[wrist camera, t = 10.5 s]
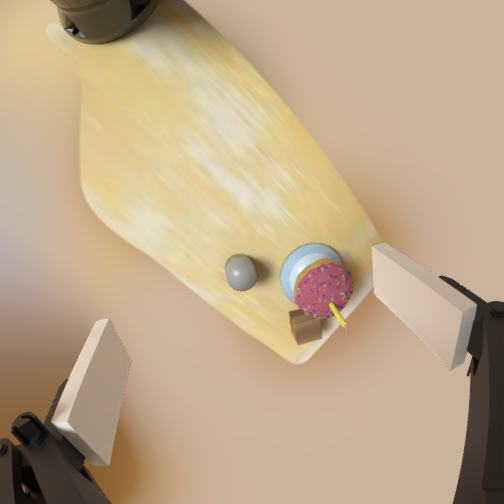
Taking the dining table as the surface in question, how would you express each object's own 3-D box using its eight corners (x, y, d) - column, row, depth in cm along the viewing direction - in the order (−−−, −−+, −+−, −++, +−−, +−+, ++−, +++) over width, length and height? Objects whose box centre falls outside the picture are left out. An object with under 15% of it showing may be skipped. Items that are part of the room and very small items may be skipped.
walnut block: (288, 311, 48) (295, 324, 44) (312, 305, 49) (320, 317, 45) (291, 331, 50) (298, 345, 46) (314, 325, 50) (322, 338, 46)
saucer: (274, 251, 45) (276, 254, 43) (337, 236, 45) (341, 238, 44) (285, 310, 48) (287, 314, 47) (343, 294, 49) (346, 297, 48)
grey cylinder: (222, 257, 44) (224, 267, 40) (249, 251, 44) (254, 260, 40) (228, 282, 45) (230, 294, 41) (255, 276, 45) (259, 287, 42)
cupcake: (343, 291, 47) (379, 329, 36) (293, 310, 47) (318, 356, 35) (332, 242, 44) (372, 272, 33) (279, 261, 44) (303, 299, 33)
